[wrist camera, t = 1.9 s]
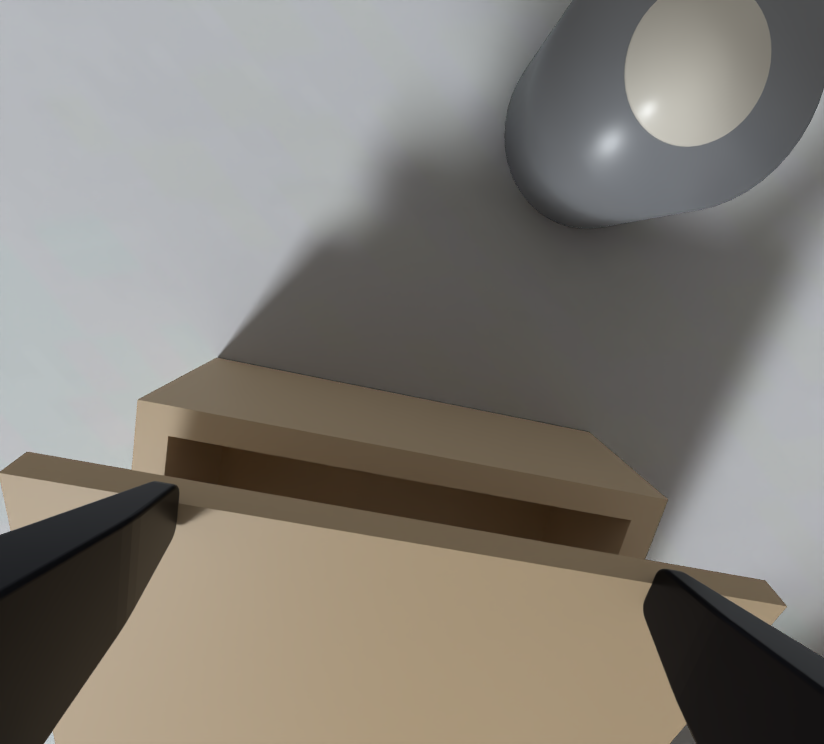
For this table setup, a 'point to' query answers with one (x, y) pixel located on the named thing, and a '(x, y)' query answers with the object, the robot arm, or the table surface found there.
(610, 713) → the lid
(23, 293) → the table surface
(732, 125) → the grey short round piece
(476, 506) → the carton
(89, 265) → the table surface
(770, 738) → the robot arm
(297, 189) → the table surface
